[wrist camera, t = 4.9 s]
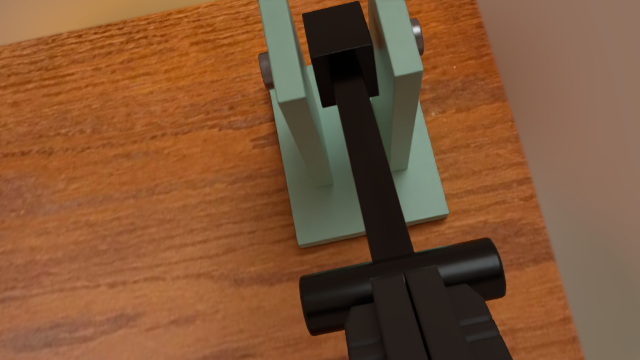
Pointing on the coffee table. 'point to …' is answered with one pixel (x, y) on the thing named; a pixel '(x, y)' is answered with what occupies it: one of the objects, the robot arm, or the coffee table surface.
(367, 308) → the robot arm
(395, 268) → the lever
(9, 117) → the coffee table surface
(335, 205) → the bracket
